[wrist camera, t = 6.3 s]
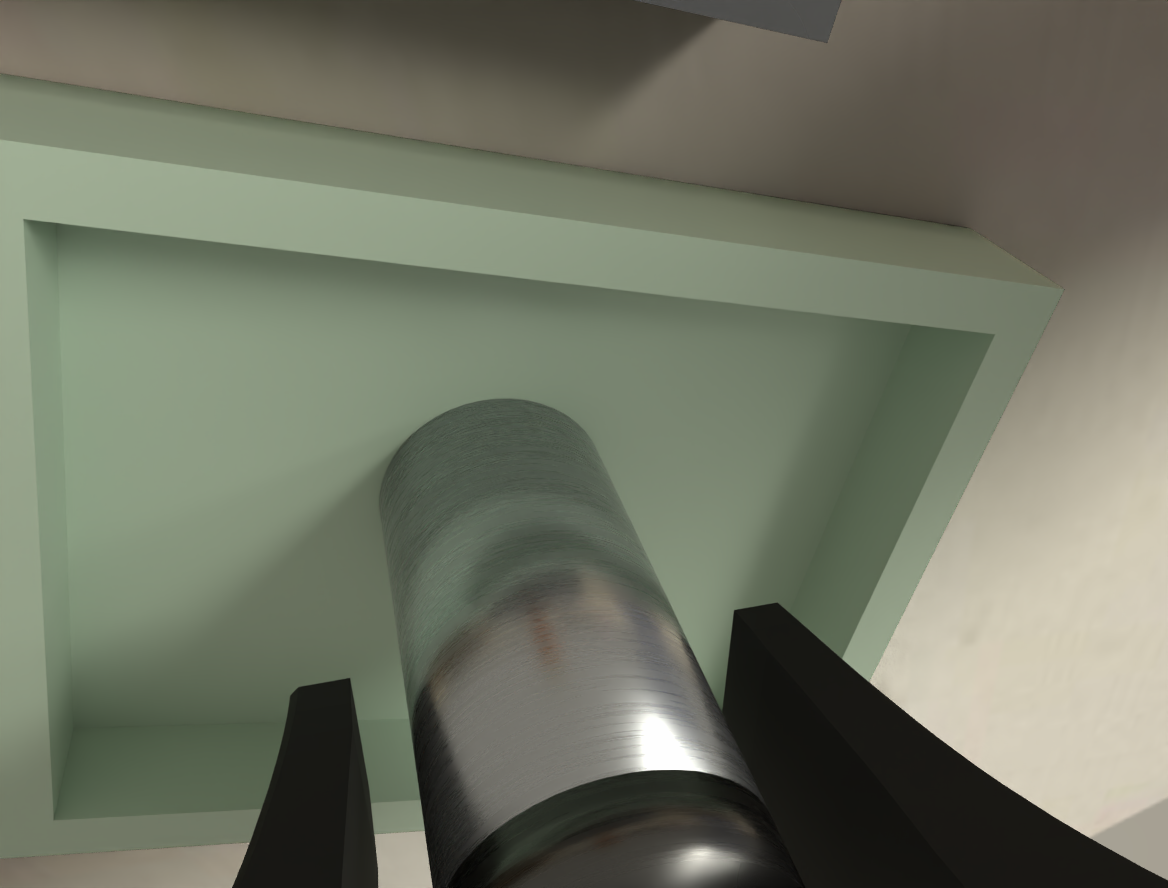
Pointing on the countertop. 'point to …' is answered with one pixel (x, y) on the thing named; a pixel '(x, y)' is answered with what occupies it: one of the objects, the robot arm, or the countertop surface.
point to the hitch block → (767, 14)
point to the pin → (554, 674)
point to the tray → (420, 423)
